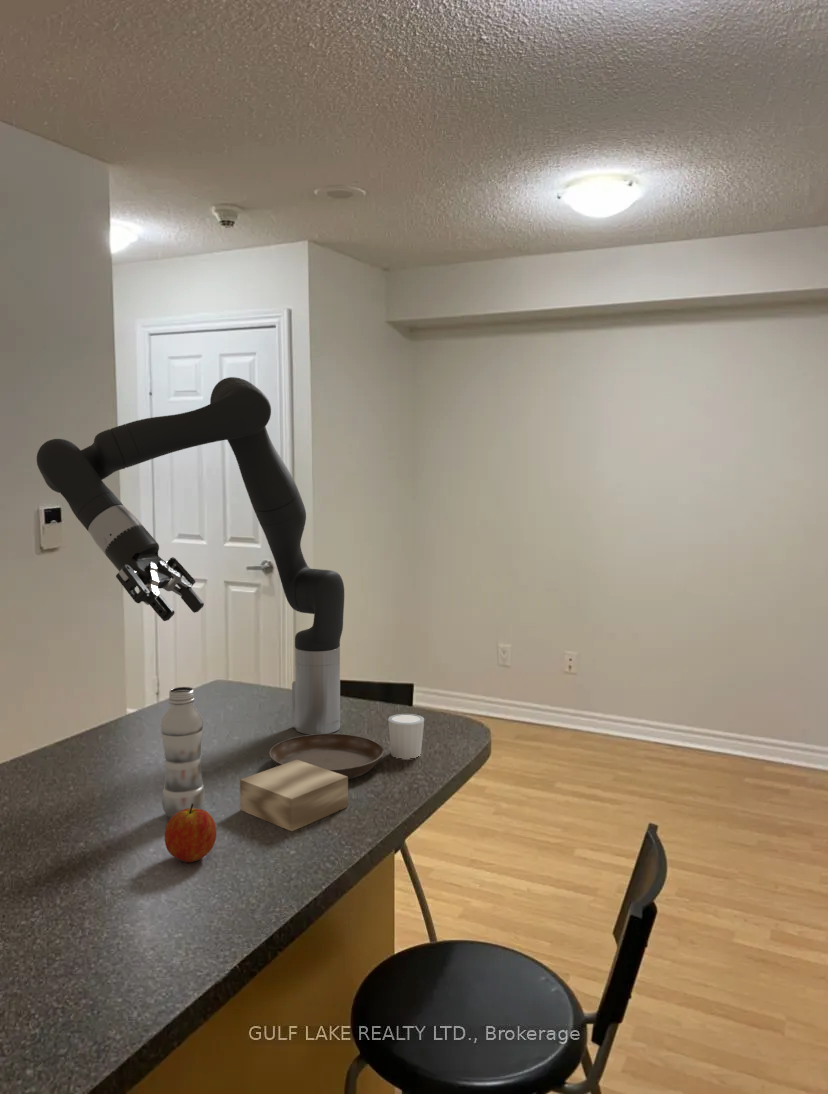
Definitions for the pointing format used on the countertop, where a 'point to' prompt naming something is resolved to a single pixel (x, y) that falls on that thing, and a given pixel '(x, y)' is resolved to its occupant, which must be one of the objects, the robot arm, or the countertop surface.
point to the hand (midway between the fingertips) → (185, 613)
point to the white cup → (406, 735)
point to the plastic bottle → (182, 753)
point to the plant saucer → (330, 752)
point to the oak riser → (293, 794)
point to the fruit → (190, 834)
